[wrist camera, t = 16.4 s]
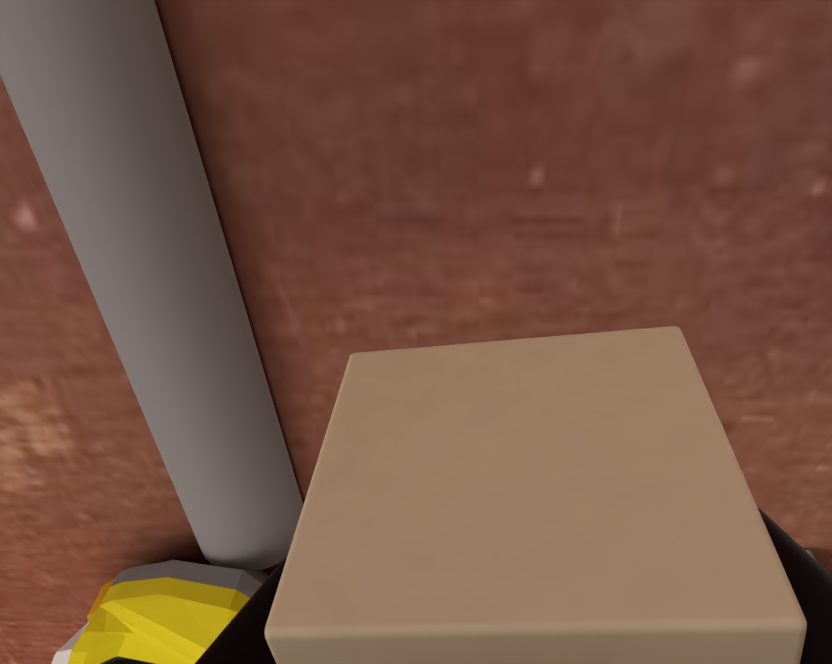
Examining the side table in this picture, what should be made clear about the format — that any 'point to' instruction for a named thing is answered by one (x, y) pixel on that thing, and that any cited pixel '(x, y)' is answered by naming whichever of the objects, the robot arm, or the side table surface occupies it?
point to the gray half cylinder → (155, 260)
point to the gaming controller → (160, 614)
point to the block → (531, 515)
